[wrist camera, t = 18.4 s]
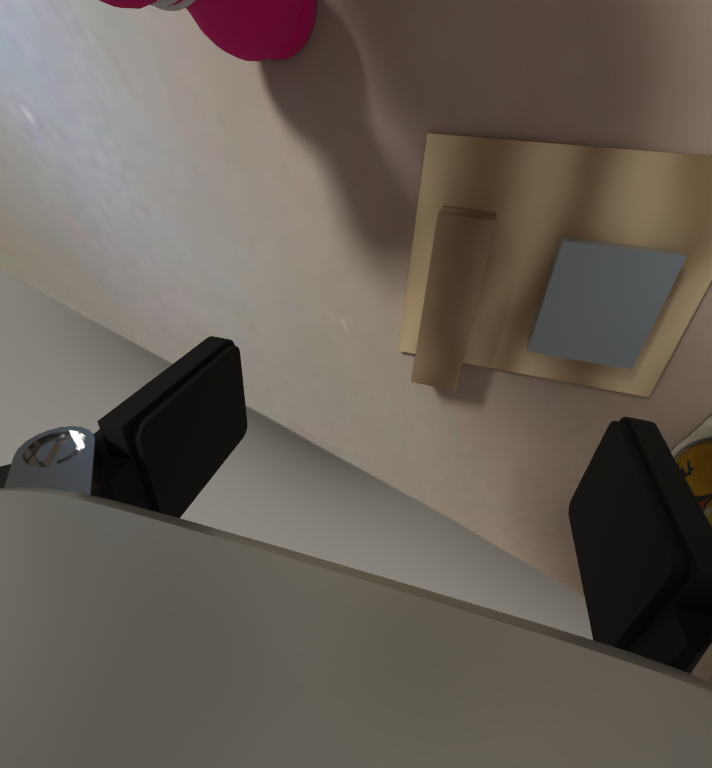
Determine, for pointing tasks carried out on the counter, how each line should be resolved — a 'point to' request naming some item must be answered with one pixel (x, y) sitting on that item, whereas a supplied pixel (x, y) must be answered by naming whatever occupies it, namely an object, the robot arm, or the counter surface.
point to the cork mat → (542, 233)
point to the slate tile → (602, 300)
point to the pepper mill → (245, 24)
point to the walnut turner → (452, 294)
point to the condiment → (698, 464)
